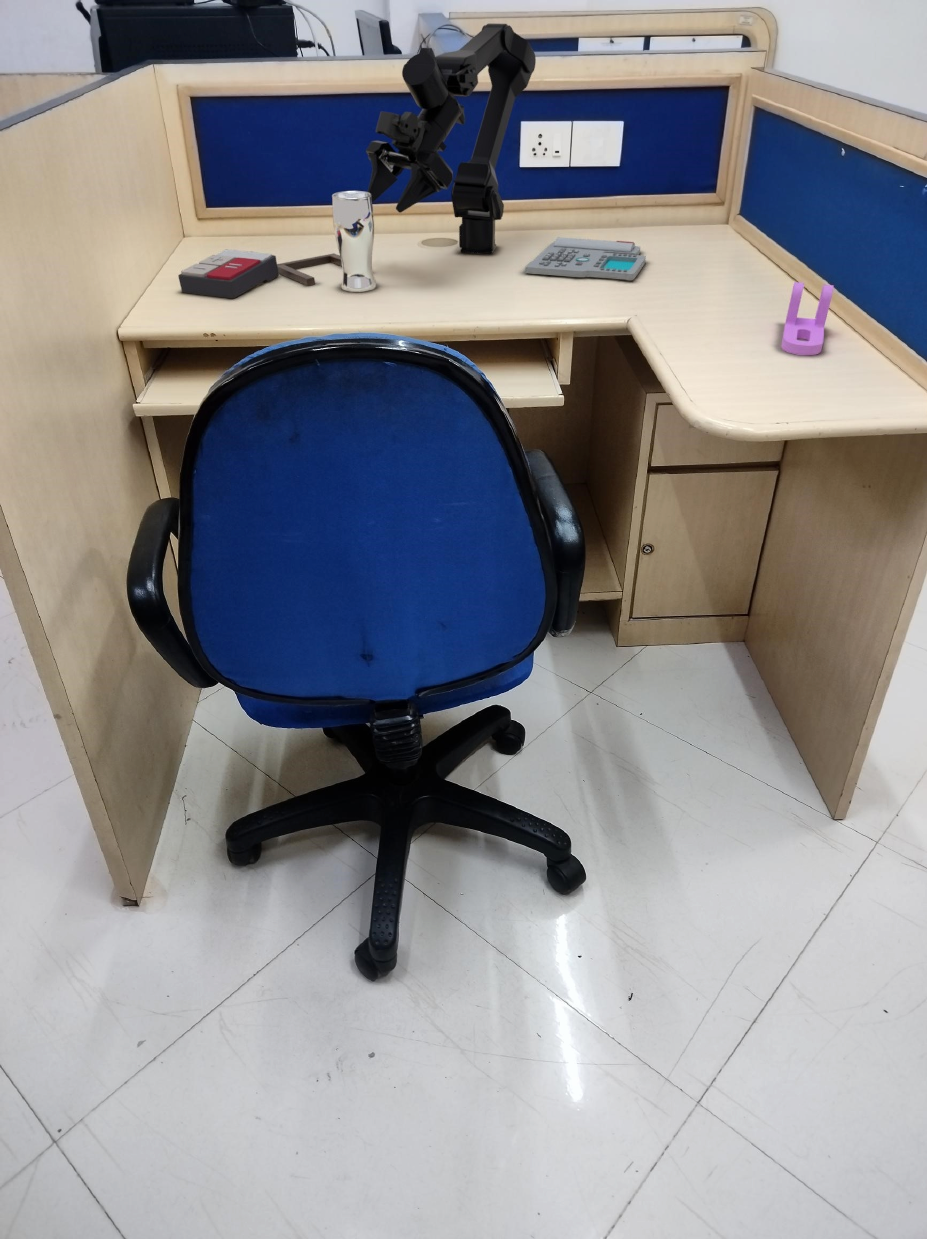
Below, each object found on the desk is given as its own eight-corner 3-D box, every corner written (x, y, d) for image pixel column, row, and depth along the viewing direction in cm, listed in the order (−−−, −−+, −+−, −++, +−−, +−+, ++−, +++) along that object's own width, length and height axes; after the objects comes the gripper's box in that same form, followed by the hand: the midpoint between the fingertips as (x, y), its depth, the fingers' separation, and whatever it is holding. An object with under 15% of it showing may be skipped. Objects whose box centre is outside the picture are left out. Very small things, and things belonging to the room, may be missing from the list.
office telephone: (555, 232, 172) (653, 239, 167) (554, 245, 174) (652, 253, 169) (525, 259, 155) (634, 267, 149) (524, 273, 156) (632, 283, 151)
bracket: (784, 325, 132) (794, 279, 128) (822, 329, 131) (833, 282, 127) (780, 352, 123) (791, 303, 118) (820, 357, 121) (833, 307, 117)
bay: (369, 272, 158) (369, 266, 157) (307, 285, 151) (306, 278, 150) (334, 259, 165) (333, 253, 165) (274, 271, 159) (273, 264, 158)
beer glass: (381, 282, 153) (375, 190, 144) (374, 293, 147) (368, 199, 138) (343, 281, 153) (335, 190, 144) (335, 292, 148) (326, 198, 139)
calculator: (175, 270, 146) (224, 245, 156) (181, 296, 148) (229, 269, 159) (229, 276, 142) (276, 250, 153) (234, 302, 145) (279, 275, 156)
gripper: (371, 86, 144) (322, 165, 145) (437, 94, 132) (383, 181, 133) (410, 135, 153) (364, 209, 154) (476, 146, 141) (425, 227, 142)
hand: (382, 206), depth 146 cm, fingers open, 9 cm apart
